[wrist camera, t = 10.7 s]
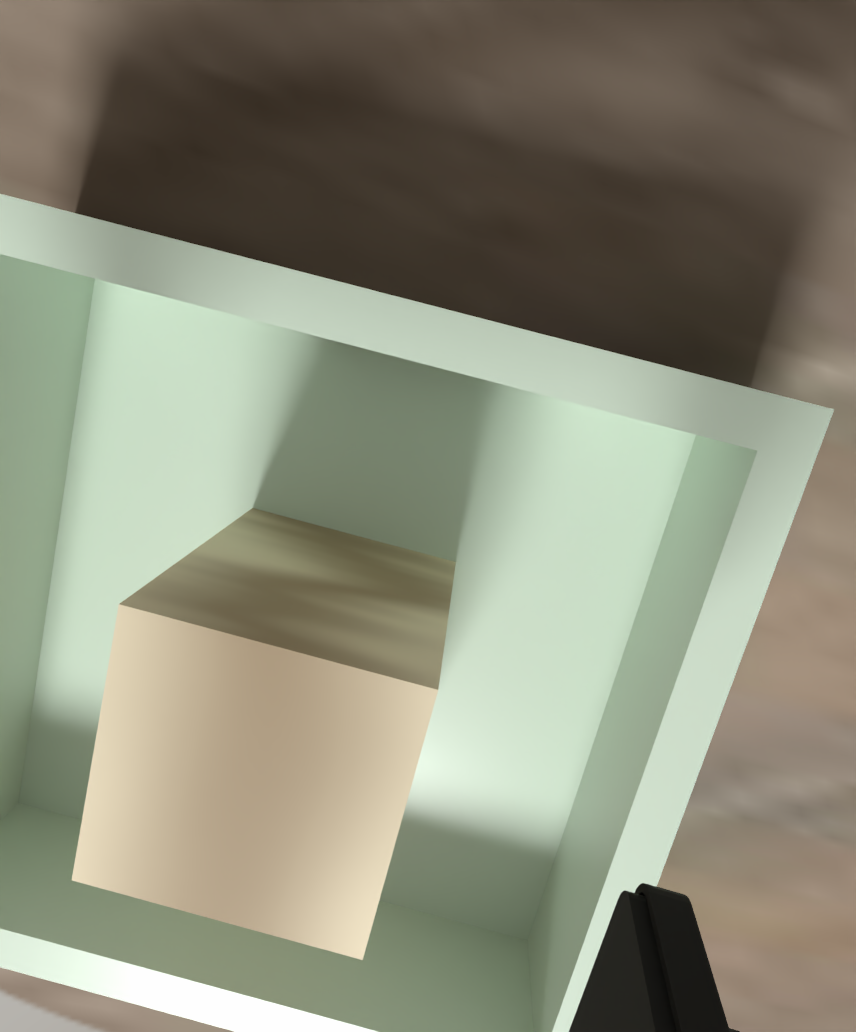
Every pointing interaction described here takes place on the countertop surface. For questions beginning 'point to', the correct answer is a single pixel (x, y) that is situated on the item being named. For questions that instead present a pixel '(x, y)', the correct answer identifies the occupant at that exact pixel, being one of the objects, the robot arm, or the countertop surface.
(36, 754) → the bin
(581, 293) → the countertop surface
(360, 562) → the beech block
